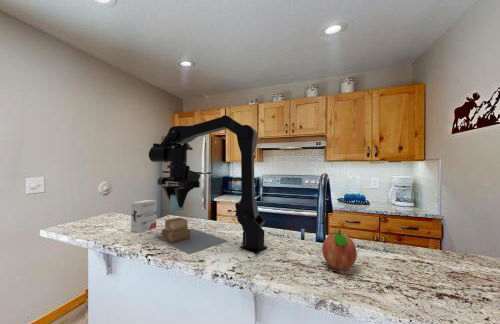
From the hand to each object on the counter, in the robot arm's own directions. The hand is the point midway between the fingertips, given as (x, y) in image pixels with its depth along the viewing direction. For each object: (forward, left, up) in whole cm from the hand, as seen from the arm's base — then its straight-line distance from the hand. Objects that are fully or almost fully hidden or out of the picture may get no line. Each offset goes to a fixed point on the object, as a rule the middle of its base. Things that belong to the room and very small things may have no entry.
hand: (177, 206), depth 77 cm
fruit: (-50, -19, -12) cm, 55 cm away
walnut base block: (0, 0, -11) cm, 11 cm away
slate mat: (-4, -3, -12) cm, 13 cm away
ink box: (+19, +3, -12) cm, 23 cm away
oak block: (0, 0, -8) cm, 8 cm away
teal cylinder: (0, 0, -1) cm, 1 cm away
